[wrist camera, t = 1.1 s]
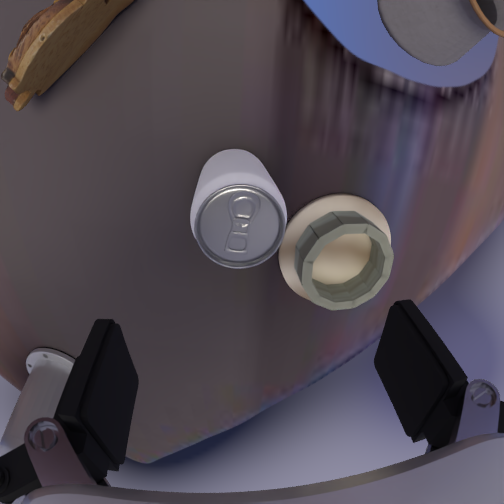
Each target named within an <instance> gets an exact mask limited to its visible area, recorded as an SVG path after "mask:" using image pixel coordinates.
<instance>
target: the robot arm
mask: <svg viewBox="0 0 504 504" xmlns="http://www.w3.org/2000/svg"><path fill="white" fill-rule="evenodd" d="M374 365H375V368H376V370H377V372H378V374H379V376H380V378H381V381H382V383H383V385H384V387H385V389H386V391H387V393H388V396H389V397H390V400H391V402H392V404H393V406H394V409H395V410H396V413H397V415H398V417H399V419H400V422H401V424H402V426H403V428H404V431H405V433H406V435H407V436H409V437H410V436H411V438H412V440H413V443H414V442H417V441H420V440H423V439H425V438H426V439H427V441H428V446H427V449H426V452H425V454H424V455H421V456H418V457H415V458H412V459H409V460H406V461H403V462H400V463H397V464H394V465H390V466H387V467H384V468H380V469H377V470H373V471H369V472H366V473H362V474H358V475H353V476H349V477H345V478H340V479H335V480H331V481H326V482H320V483H315V484H309V485H303V486H296V487H288V488H282V489H272V490H261V491H248V492H231V493H179V492H160V491H147V490H135V489H126V488H118V487H111V486H110V484H109V482H108V481H107V480H106V478H105V477H106V476H107V470H112V471H119V464H123V463H124V460H125V454H126V448H127V442H128V436H129V431H130V425H131V420H132V414H133V409H134V404H135V399H136V394H137V389H138V375H137V373H136V370H135V367H134V365H133V362H132V359H131V357H130V354H129V351H128V348H127V346H126V343H125V340H124V337H123V334H122V331H121V328H120V325H119V324H115V322H114V320H112V319H97V320H96V321H95V323H94V325H93V327H92V329H91V332H90V334H89V336H88V338H87V341H86V343H85V345H84V348H83V350H82V352H81V355H80V356H78V357H77V358H76V360H75V359H73V358H72V357H70V356H68V355H66V354H64V353H62V352H59V351H57V350H53V349H49V348H37V349H34V350H33V351H31V352H30V354H29V355H28V357H27V360H26V366H27V370H28V372H29V374H30V375H29V377H28V379H27V381H26V383H25V385H24V387H23V389H22V392H21V394H20V396H19V398H18V400H17V403H16V405H15V407H14V410H13V412H12V414H11V417H10V419H9V422H8V424H7V426H6V429H5V432H4V434H3V436H2V439H1V442H0V504H504V402H503V401H500V394H499V392H498V390H497V388H496V387H495V386H494V385H493V384H492V383H491V382H489V381H487V380H484V379H475V380H473V381H471V382H470V383H468V381H467V376H466V374H465V373H464V371H463V370H462V368H461V367H460V365H459V364H458V363H457V361H456V360H455V358H454V357H453V355H452V354H451V353H450V351H449V350H448V348H447V347H446V345H445V344H444V343H443V341H442V340H441V338H440V337H439V336H438V334H437V333H436V332H435V330H434V329H433V328H432V326H431V325H430V323H429V322H428V321H427V319H425V317H424V316H423V314H422V313H421V312H420V310H419V309H418V308H417V306H416V305H415V304H414V303H413V301H412V300H401V301H396V302H395V303H394V305H393V306H391V307H390V309H389V313H388V316H387V319H386V323H385V326H384V330H383V333H382V336H381V339H380V342H379V346H378V349H377V352H376V355H375V358H374Z"/></svg>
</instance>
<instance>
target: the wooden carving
mask: <svg viewBox="0 0 504 504" xmlns="http://www.w3.org/2000/svg"><path fill="white" fill-rule="evenodd" d="M133 1H134V0H55V1H54V3H53V5H51V6H50V7H48V8H46V9H44V10H42V11H40V12H38V13H37V14H36V15H34V16H33V17H32V18H31V19H30V20H29V21H28V22H27V23H26V24H25V26H24V27H23V30H22V33H21V35H20V38H19V40H18V43H17V47H16V48H14V49H13V50H12V51H11V53H10V55H9V58H8V61H9V62H8V64H7V67H6V69H5V70H4V71H3V72H2V74H1V78H2V80H3V81H5V82H6V83H7V84H8V87H7V89H6V91H5V98H6V100H7V101H9V102H10V103H11V104H12V105H13V107H14V109H15V110H16V111H20V110H21V109H23V108H24V107H25V106H26V105H27V104H28V102H29V101H30V99H31V98H32V97H33V95H34V94H35V93H36V94H37V95H38V96H40V95H41V94H43V93H44V92H45V91H46V90H47V89H48V88H49V87H50V86H51V85H52V84H53V83H54V82H55V81H56V80H57V79H58V78H59V77H60V76H61V75H62V74H63V73H64V72H65V71H66V70H67V69H68V68H69V67H70V66H71V65H72V64H73V63H74V62H75V61H76V60H77V59H78V58H79V57H80V56H81V55H82V54H83V53H84V52H85V51H86V50H87V49H88V48H89V47H90V46H91V45H92V44H93V43H94V42H95V41H96V39H97V38H98V37H99V36H100V35H101V34H102V33H103V31H104V30H105V29H106V28H107V27H108V25H109V24H110V23H111V21H112V20H113V19H114V18H115V17H116V15H117V14H118V13H120V12H121V11H122V10H123V9H125V8H126V7H127V6H128V5H130V4H131V3H132V2H133Z"/></svg>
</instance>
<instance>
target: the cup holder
mask: <svg viewBox="0 0 504 504" xmlns="http://www.w3.org/2000/svg"><path fill="white" fill-rule="evenodd" d="M393 255H394V254H393V251H392V248H391V235H390V230H389V226H388V223H387V221H386V219H385V217H384V216H383V214H382V213H381V212H380V211H379V210H378V209H377V208H376V207H375V206H374V205H373V204H371V203H370V202H369V201H367V200H365V199H364V198H362V197H359V196H356V195H352V194H346V193H336V194H330V195H325V196H322V197H319V198H317V199H315V200H313V201H311V202H309V203H308V204H306V205H305V206H303V207H302V208H301V209H300V210H299V211H298V212H297V213H296V214H295V215H294V216H293V217H292V218H291V220H290V221H289V222H288V224H287V225H286V228H285V234H284V238H283V241H282V243H281V245H280V247H279V250H278V259H279V265H280V268H281V271H282V274H283V277H284V279H285V281H286V282H287V284H288V285H289V286H290V288H291V289H292V290H293V291H294V292H296V293H297V294H298V295H300V296H302V297H304V298H306V299H308V300H311V301H312V302H313V303H315V304H317V305H320V306H322V307H324V308H327V309H329V310H341V309H350V308H355V307H357V306H359V305H360V304H362V303H364V302H366V301H367V300H369V299H371V298H372V297H374V295H376V294H377V293H378V291H379V290H380V289H381V287H382V286H383V285H384V284H385V282H386V281H387V280H388V278H389V276H390V272H391V267H392V262H393V258H394V256H393Z"/></svg>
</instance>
